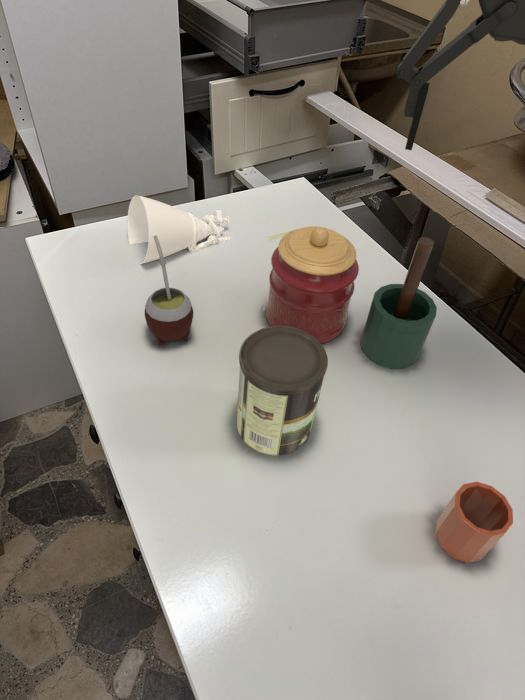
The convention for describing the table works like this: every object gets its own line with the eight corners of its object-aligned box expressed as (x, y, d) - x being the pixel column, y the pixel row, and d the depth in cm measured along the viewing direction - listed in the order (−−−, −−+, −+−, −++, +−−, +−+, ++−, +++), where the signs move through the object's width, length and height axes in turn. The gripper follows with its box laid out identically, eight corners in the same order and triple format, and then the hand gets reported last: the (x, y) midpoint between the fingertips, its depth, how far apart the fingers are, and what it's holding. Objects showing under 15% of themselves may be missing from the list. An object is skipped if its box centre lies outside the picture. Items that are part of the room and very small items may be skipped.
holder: (484, 524, 63) (512, 491, 57) (484, 572, 59) (514, 542, 53) (434, 509, 64) (456, 475, 58) (430, 556, 60) (454, 524, 54)
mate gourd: (177, 360, 78) (172, 281, 67) (133, 341, 80) (121, 261, 69) (204, 331, 82) (202, 252, 72) (162, 313, 85) (155, 234, 74)
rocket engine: (238, 188, 95) (141, 184, 86) (249, 250, 94) (153, 253, 85) (212, 210, 105) (123, 209, 96) (222, 267, 104) (133, 271, 95)
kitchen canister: (341, 298, 90) (362, 207, 78) (347, 352, 81) (372, 260, 69) (266, 292, 90) (275, 200, 77) (264, 346, 81) (273, 252, 68)
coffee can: (308, 398, 74) (323, 326, 64) (314, 461, 67) (332, 391, 57) (235, 396, 74) (239, 323, 64) (234, 459, 67) (238, 388, 57)
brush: (401, 344, 83) (441, 237, 68) (398, 360, 80) (439, 252, 66) (378, 338, 83) (413, 230, 69) (375, 354, 81) (410, 245, 66)
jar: (419, 340, 84) (438, 292, 77) (413, 379, 78) (434, 332, 71) (364, 326, 86) (378, 277, 79) (354, 364, 80) (369, 315, 73)
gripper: (404, -94, 44) (356, 149, 60) (726, -56, 40) (587, 193, 56) (412, -102, 49) (366, 123, 65) (699, -69, 46) (578, 162, 61)
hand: (468, 156), depth 60 cm, fingers open, 13 cm apart
